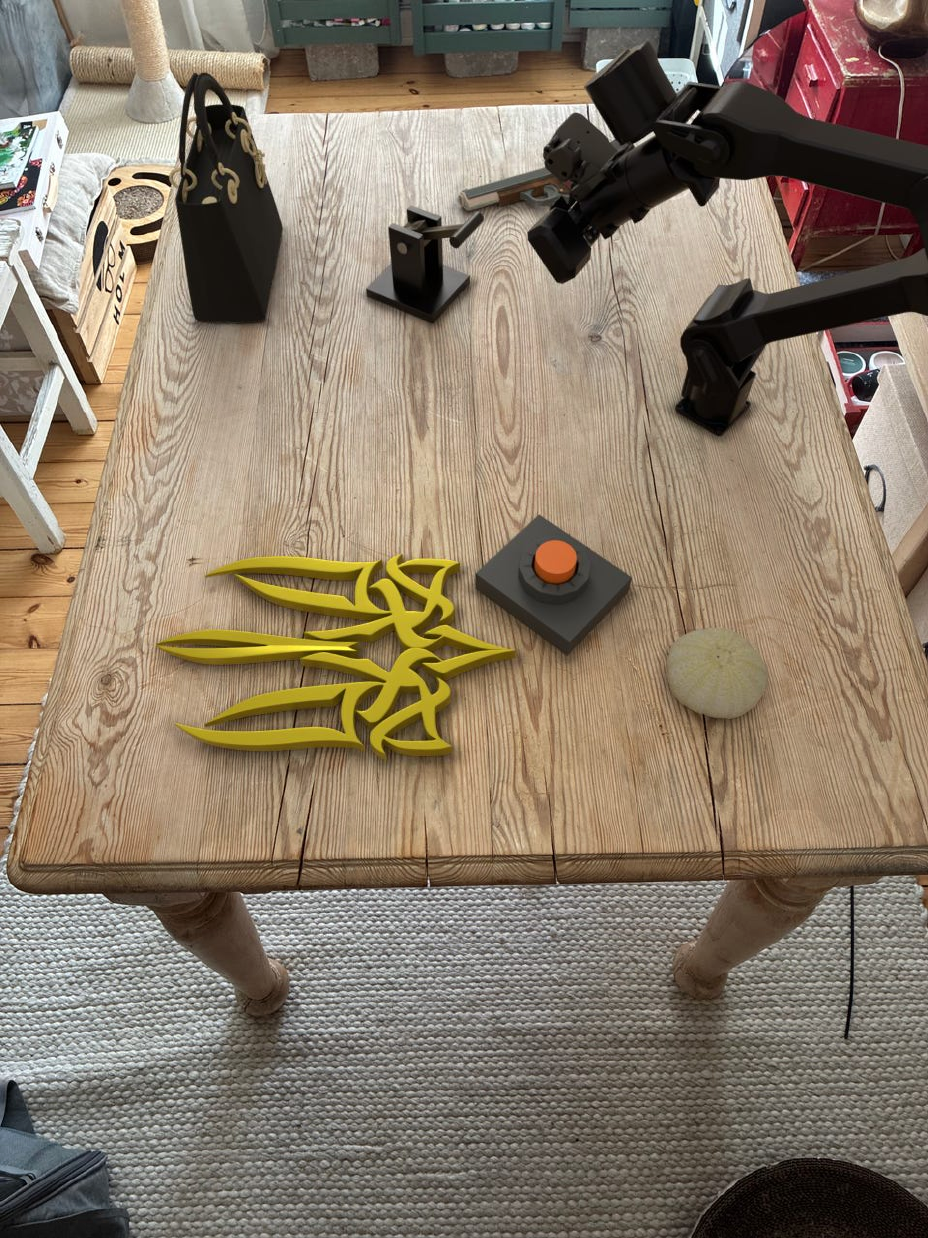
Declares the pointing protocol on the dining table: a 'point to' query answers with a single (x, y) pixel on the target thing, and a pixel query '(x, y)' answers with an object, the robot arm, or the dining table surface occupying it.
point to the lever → (447, 230)
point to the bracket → (417, 272)
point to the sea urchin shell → (716, 672)
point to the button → (555, 562)
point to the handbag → (225, 211)
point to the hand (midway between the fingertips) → (538, 239)
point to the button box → (552, 587)
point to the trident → (344, 655)
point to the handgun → (517, 190)
